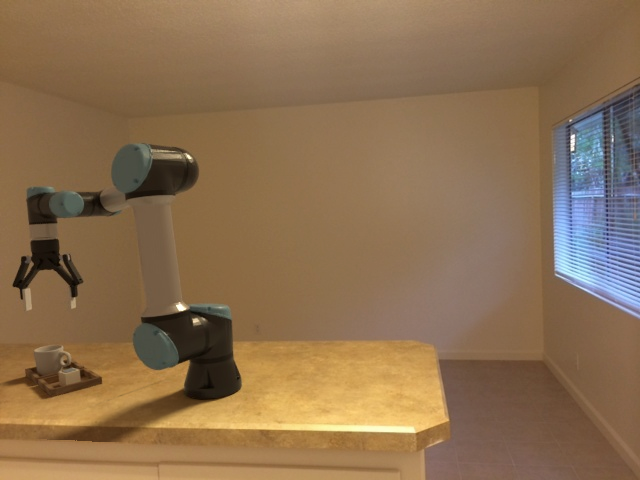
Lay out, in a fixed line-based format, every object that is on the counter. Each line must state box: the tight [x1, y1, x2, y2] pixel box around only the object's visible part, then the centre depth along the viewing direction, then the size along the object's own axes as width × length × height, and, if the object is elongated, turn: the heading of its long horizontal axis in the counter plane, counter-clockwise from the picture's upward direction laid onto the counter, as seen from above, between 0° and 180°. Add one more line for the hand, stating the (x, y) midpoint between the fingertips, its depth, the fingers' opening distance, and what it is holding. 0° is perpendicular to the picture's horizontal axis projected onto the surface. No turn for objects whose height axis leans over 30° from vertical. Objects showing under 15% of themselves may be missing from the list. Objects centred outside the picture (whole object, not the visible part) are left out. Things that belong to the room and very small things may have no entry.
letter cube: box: [58, 368, 81, 386], centre depth 140 cm, size 4×4×4 cm
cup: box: [33, 344, 72, 376], centre depth 150 cm, size 11×8×8 cm
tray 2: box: [37, 367, 103, 398], centre depth 140 cm, size 13×13×2 cm
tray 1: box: [24, 358, 86, 386], centre depth 150 cm, size 13×13×2 cm
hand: (50, 309), depth 149 cm, fingers open, 13 cm apart
